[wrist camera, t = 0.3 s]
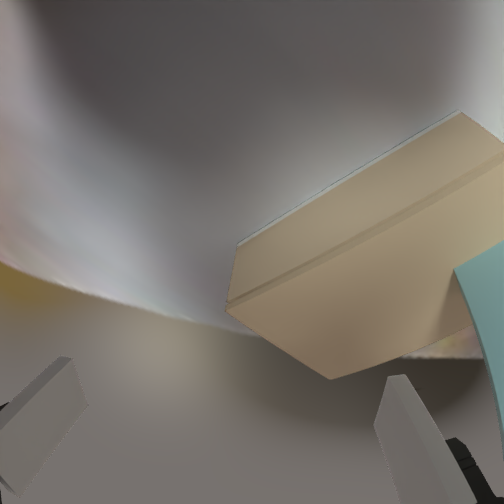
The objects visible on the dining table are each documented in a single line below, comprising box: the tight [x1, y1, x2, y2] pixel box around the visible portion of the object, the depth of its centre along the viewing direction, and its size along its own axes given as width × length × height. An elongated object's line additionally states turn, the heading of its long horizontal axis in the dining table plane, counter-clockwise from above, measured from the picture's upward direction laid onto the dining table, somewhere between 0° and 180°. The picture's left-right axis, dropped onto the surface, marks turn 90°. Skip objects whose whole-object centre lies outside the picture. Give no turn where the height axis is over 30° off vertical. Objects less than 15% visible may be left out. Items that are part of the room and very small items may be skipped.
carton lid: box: [225, 154, 504, 459], centre depth 14 cm, size 20×14×12 cm
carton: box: [226, 110, 504, 303], centre depth 21 cm, size 20×14×6 cm
